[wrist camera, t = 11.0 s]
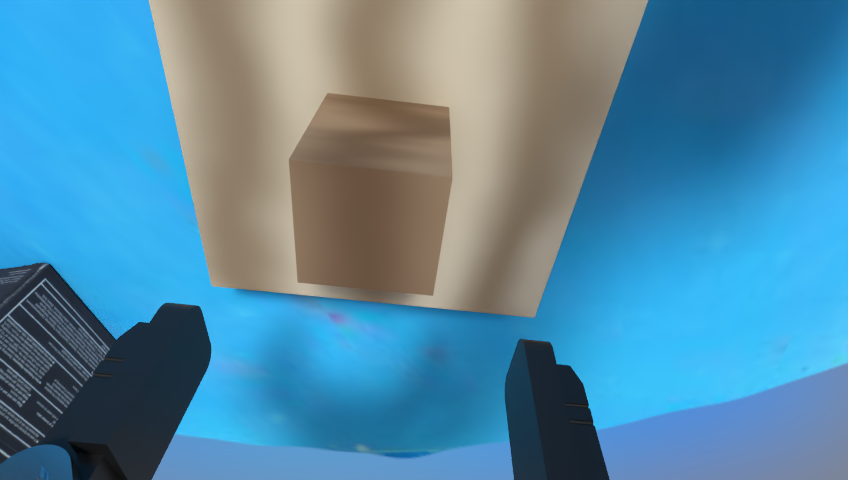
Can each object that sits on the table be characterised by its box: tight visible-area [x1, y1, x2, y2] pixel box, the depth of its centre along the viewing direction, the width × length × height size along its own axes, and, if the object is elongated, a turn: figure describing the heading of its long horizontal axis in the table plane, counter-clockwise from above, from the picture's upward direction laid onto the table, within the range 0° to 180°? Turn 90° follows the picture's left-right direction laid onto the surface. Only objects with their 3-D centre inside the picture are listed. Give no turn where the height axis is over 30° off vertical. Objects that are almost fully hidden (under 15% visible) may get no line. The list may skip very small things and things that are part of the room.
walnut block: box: [289, 93, 453, 296], centre depth 18 cm, size 5×5×6 cm
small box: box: [0, 263, 116, 464], centre depth 29 cm, size 11×6×10 cm, turn 11°
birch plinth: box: [149, 0, 648, 318], centre depth 22 cm, size 18×18×4 cm
